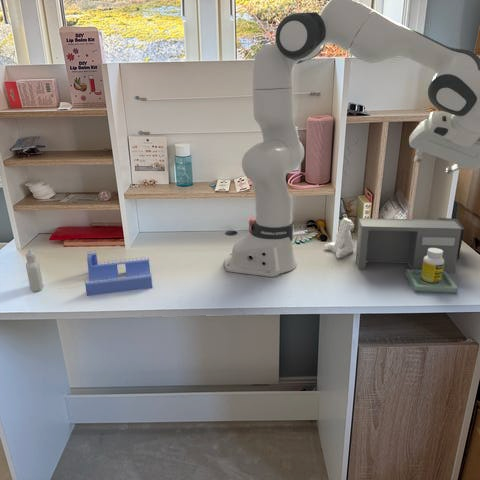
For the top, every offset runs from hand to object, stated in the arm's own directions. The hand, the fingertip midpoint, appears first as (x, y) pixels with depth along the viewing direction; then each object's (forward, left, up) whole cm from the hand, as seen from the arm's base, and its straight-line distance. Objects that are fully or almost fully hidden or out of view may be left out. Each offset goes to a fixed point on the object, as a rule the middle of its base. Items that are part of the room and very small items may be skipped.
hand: (431, 166), depth 130 cm
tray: (+1, -10, -32) cm, 33 cm away
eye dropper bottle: (-111, -22, -32) cm, 117 cm away
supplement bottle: (+1, -10, -31) cm, 33 cm away
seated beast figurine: (-22, +12, -32) cm, 41 cm away
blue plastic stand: (-89, -14, -32) cm, 96 cm away
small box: (+12, +14, -32) cm, 37 cm away
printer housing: (-4, +2, -32) cm, 32 cm away
